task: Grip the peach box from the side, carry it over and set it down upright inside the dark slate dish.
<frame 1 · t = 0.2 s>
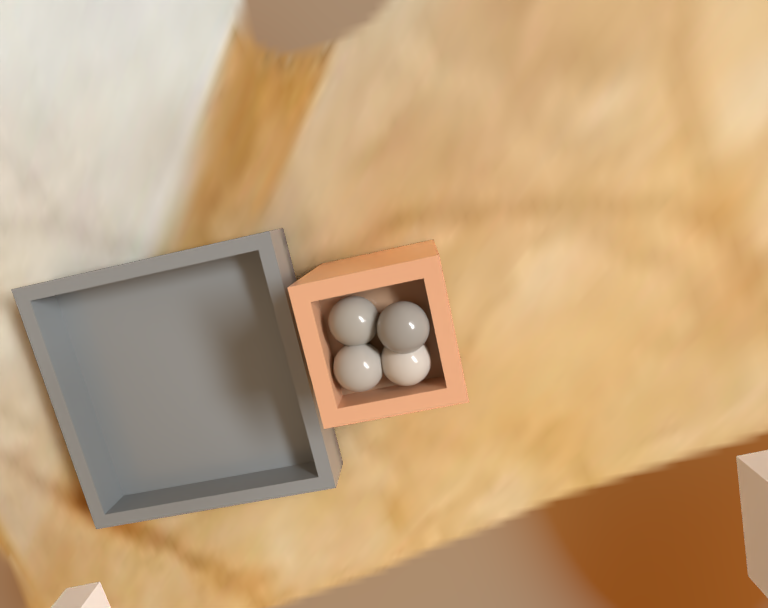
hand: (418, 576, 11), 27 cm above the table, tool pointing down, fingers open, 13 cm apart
peach box: (389, 306, 38), on the table
slate dish: (197, 373, 40), on the table
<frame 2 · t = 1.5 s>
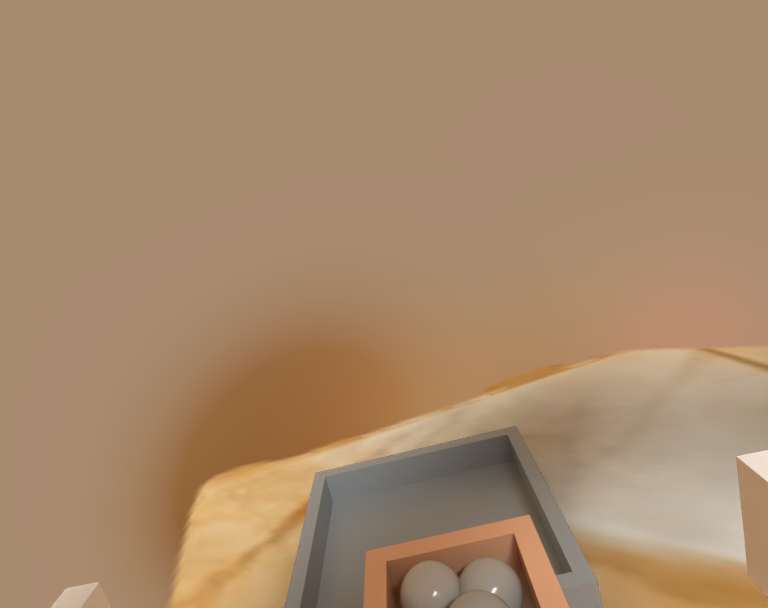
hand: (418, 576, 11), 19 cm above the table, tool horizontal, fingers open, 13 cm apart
slate dish: (433, 554, 39), on the table
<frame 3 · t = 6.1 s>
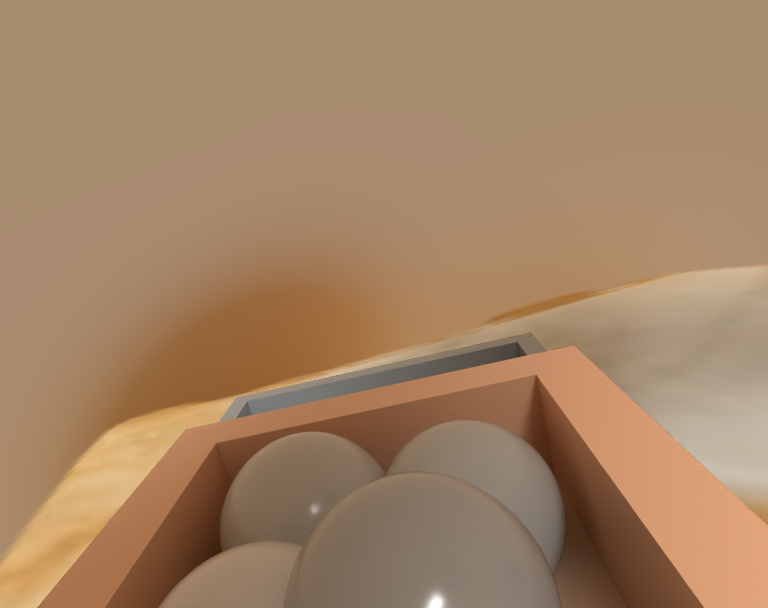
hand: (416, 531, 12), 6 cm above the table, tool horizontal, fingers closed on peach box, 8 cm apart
slate dish: (393, 507, 24), on the table
when the fingers open (8 cm above the table, at t = 11.1 s): peach box drops 1 cm, resting on slate dish.
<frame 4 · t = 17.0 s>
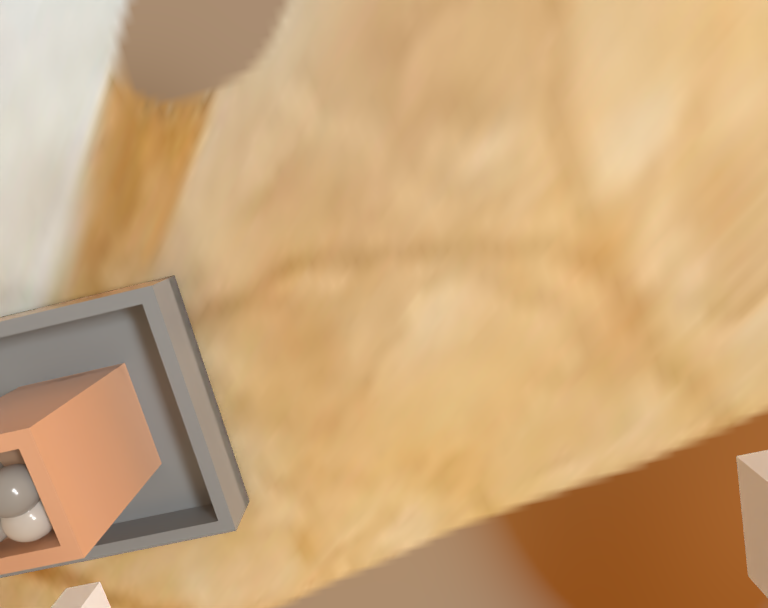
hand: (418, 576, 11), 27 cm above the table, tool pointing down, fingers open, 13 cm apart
peach box: (91, 425, 38), point 1 cm above the table, touching slate dish
slate dish: (98, 419, 39), on the table
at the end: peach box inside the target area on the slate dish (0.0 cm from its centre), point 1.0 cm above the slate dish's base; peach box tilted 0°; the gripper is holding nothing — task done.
